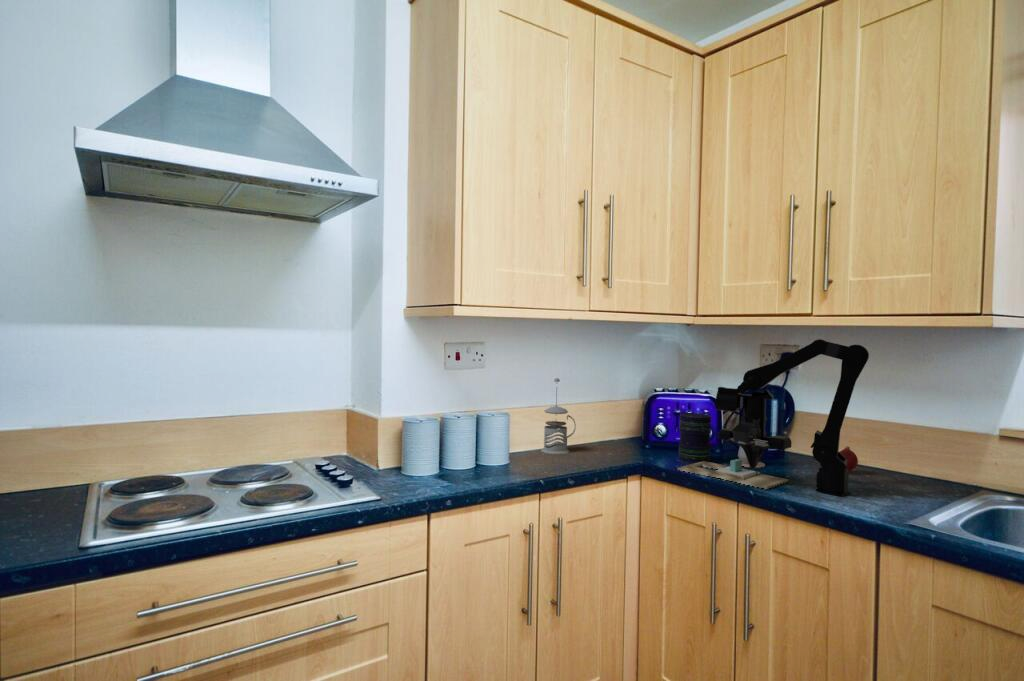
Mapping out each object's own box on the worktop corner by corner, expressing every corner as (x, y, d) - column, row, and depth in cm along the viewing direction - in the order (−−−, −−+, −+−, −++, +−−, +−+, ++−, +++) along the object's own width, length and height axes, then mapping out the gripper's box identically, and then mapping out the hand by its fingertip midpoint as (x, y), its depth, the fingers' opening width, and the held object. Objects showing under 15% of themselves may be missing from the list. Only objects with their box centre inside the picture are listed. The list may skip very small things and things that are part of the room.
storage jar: (673, 460, 186) (674, 414, 186) (686, 456, 194) (687, 412, 194) (702, 466, 180) (704, 418, 180) (715, 461, 187) (716, 415, 187)
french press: (541, 447, 203) (543, 376, 203) (574, 448, 202) (576, 377, 202) (540, 453, 194) (541, 378, 193) (575, 454, 192) (576, 379, 192)
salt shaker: (743, 465, 180) (744, 423, 180) (734, 461, 186) (735, 420, 186) (761, 465, 181) (762, 423, 181) (751, 461, 187) (752, 420, 187)
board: (788, 482, 162) (788, 476, 162) (767, 489, 153) (767, 483, 153) (700, 464, 182) (700, 459, 182) (677, 470, 173) (677, 464, 173)
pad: (770, 465, 183) (770, 463, 183) (755, 469, 177) (755, 468, 177) (740, 459, 191) (740, 458, 191) (725, 463, 184) (725, 462, 184)
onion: (856, 475, 171) (857, 449, 171) (834, 472, 175) (834, 446, 175) (858, 472, 176) (859, 446, 176) (837, 469, 179) (837, 443, 179)
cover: (755, 474, 166) (756, 460, 166) (742, 479, 161) (743, 464, 161) (729, 469, 172) (730, 456, 172) (715, 473, 167) (716, 459, 167)
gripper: (709, 411, 164) (707, 466, 164) (775, 420, 150) (773, 480, 150) (728, 409, 171) (726, 461, 172) (793, 416, 158) (791, 474, 158)
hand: (752, 468), depth 163 cm, fingers closed
